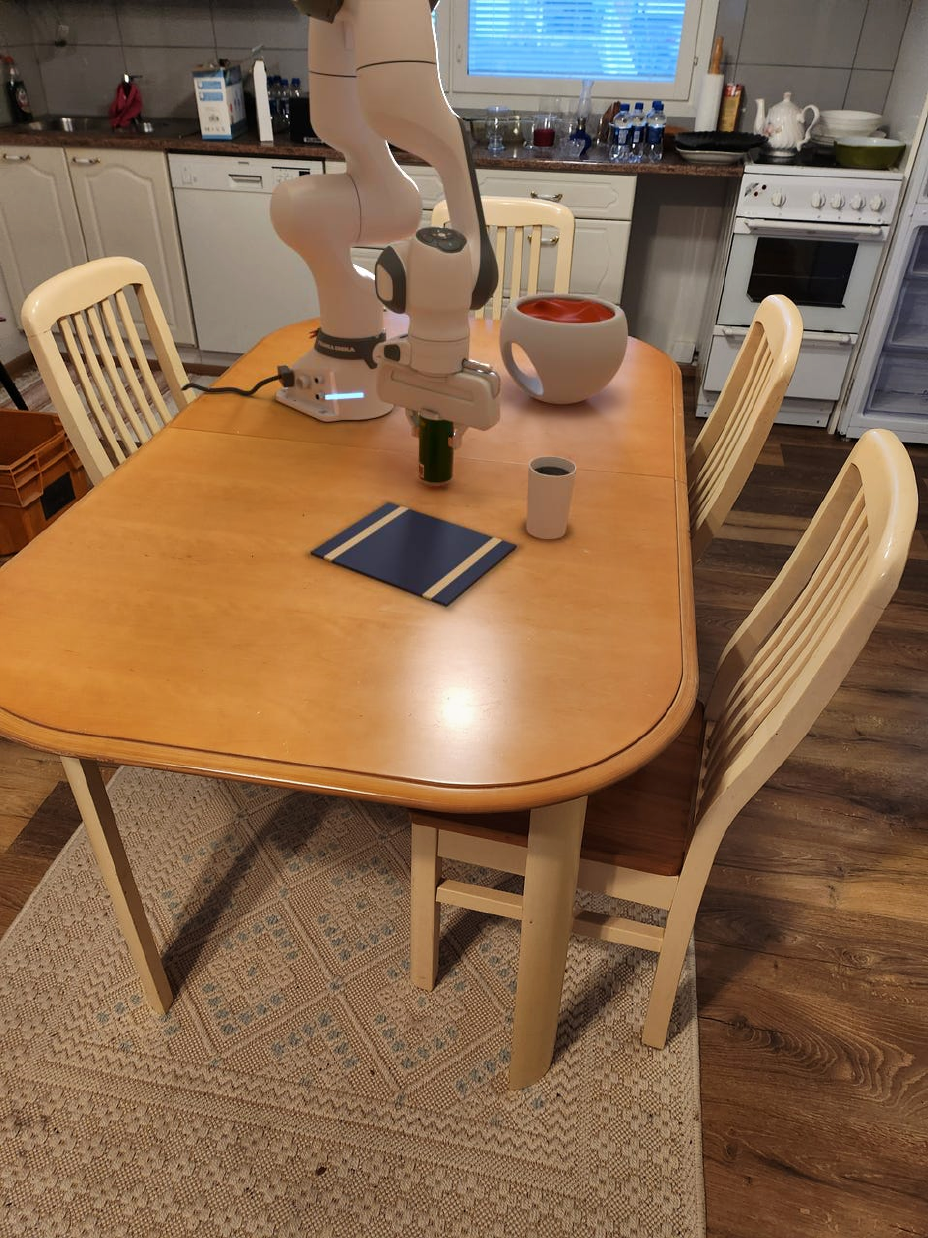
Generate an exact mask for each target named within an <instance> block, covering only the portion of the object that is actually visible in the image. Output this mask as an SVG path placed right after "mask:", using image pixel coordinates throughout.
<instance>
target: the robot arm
mask: <svg viewBox="0 0 928 1238" xmlns="http://www.w3.org/2000/svg"><path fill="white" fill-rule="evenodd" d="M440 1H441V0H290V2H291V3H292V4H293V5H294V7H295V8H296V9H297V11H299V13H301V14H302V15H304V16H307V17H309V23H308V24H309V25H308V26H309V27H308V40H307V66H308V67H307V68H308V70H307V71H308V72H307V73H308V74H307V75H308V95H309V118H310V119H309V121H310V124H311V127H312V130H313V132H314V133H315V135H316V136H317V137H318V138H319V140H321V141H322V142H323V143H324V144H326V145H328V146H329V147H331V148H332V149H334V150H336V151H338V152H340V153H342V154H343V157H344V159H345V165H346V172H343V173H319V174H318V173H316V174H304V175H300V176H296V177H292V178H289V179H286V180H282V181H280V182H279V183H277V185H276V186H275V188H274V190H273V192H272V195H271V197H270V200H269V218H270V221H271V225H272V227H273V230H274V233H276V235H277V237H278V238H279V239H280V240H281V241H282V242H283V244H285V245H286V247H289V248H290V249H291V250H293V251H294V252H295V253H296V254H297V255H299V257H300V258H301V259H302V260H303V261H304V263H305V264H306V265H307V267H308V269H309V271H310V272H311V274H312V277H313V280H314V282H315V286H316V291H317V298H318V307H319V318H320V319H319V320H320V326H319V327H317V328H316V329H314V330H312V331H309V332H308V334H311V335H309V337H308V338H309V339H310V340H311V339H314V338H315V342H314V344H313V347H311V349H310V350H308V351H307V352H306V353H304V354H303V355H302V356H301V357H299V358H298V359H297V360H296V361H294V362H293V363H292V364H291V365H290V367H289V366H288V364H284V365H277V368H276V369H277V374H276V375H273V376H270V377H268V378H265V379H263V380H261V381H259V382H258V383H256V384H255V385H254V386H253V387H252V388H251V389H249V390H245V389H241V388H239V387H235V386H224V387H223V386H222V387H207V386H203V385H201V384H198V383H195V382H189V383H186V384H184V385H183V386H182V387H181V388H180V391H183V392H184V391H187V390H189V389H196V390H199V391H202V392H204V393H212V394H213V393H227V392H228V393H229V392H231V393H236V394H239V395H243V396H252V395H254V394H256V393H257V392H258V391H259V390H260V388H261V387H263V386H266V385H267V384H270V383H273V382H276V381H278V382H279V383H280V384H281V386H282V387H281V388H280V389H279V390H278V391H277V392H276V394H275V401H276V402H279V403H281V404H284V405H285V406H288V407H290V408H292V409H295V410H297V411H299V412H301V413H304V414H305V415H307V416H310V417H312V418H315V419H317V420H319V421H322V422H324V423H325V422H327V423H329V422H336V421H360V420H361V421H362V420H370V419H375V418H378V417H383V416H384V415H386V414H389V413H390V412H391V411H392V410H393V409H394V407H395V406H397V407H400V408H404V414H405V417H406V419H407V421H408V423H409V425H410V426H411V436H412V437H413V438H417V439H419V412H421V408H424V409H425V410H427V411H428V410H431V411H433V412H438V413H440V417H441V418H442V419H444V420H448V421H451V422H454V430H456V432H454V434H453V435H452V436H449V437H448V447H450V448H453V449H454V450H459V449H460V448H461V447H462V445H463V436H464V435H465V434H466V432H467V431H468V429H469V428H472V429H475V430H479V431H482V432H486V431H489V430H491V429H492V428H493V427H495V426H496V425H497V424H499V422H500V420H501V394H500V391H501V383H502V381H501V380H502V379H501V376H500V375H499V373H498V372H497V370H495V369H494V368H493V366H492V365H490V364H487V363H480V362H478V361H475V360H472V359H470V343H471V327H470V324H469V313H470V311H479V310H481V309H482V308H484V306H485V305H486V304H488V302H489V301H490V300H491V299H492V297H493V295H494V294H495V292H496V290H497V289H498V285H499V281H500V280H499V279H500V278H499V277H500V275H499V266H498V262H497V258H496V255H495V251H494V248H493V245H492V243H491V240H490V239H491V238H490V236H489V231H488V228H487V222H486V217H485V211H484V206H483V202H482V196H481V191H480V185H479V181H478V175H477V171H476V166H475V161H474V155H473V151H472V146H471V142H470V138H469V135H468V131H467V129H466V126H465V123H464V121H463V119H462V118H461V117H460V116H459V115H458V114H457V113H455V112H454V111H453V109H452V108H451V106H450V105H449V102H448V100H447V98H446V96H445V93H444V90H443V87H442V83H441V79H440V71H439V59H438V47H437V40H436V33H435V27H434V26H435V25H434V20H433V15H432V13H433V12H434V10H436V8H437V7H438V5H439V3H440ZM389 144H390V145H392V146H393V147H395V148H398V149H400V150H402V151H405V152H408V153H410V154H412V155H414V156H417V157H419V158H420V159H422V160H424V161H425V162H427V163H428V164H429V165H431V167H432V168H433V169H434V170H435V171H436V172H437V175H438V177H439V178H440V180H441V183H442V188H443V192H444V197H445V202H446V207H447V212H448V216H449V222H450V226H451V228H449V227H445V226H434V225H433V226H427V227H422V228H420V229H419V227H420V225H421V222H422V220H423V213H424V207H423V206H424V205H423V204H424V203H423V199H422V196H421V192H420V190H419V188H418V187H417V184H416V183H415V182H414V181H413V180H412V178H411V177H409V176H408V175H407V174H406V173H405V172H404V171H403V170H402V169H401V167H400V166H399V165H398V163H397V162H396V160H395V159H394V157H393V155H392V153H391V149H390V148H389ZM408 238H409V240H407V241H404V242H401V241H403V240H406V239H408ZM410 238H411V239H410ZM396 242H399V243H396ZM393 243H395V244H393ZM391 244H392V245H391ZM379 245H387V246H386V247H385V248H384V249H383V250H382V252H381V253H380V254H379V256H378V258H377V260H376V262H375V264H374V274H373V273H372V272H370V271H368V270H367V269H365V268H363V267H361V266H358V265H356V264H354V262H353V260H352V256H351V248H354V247H365V246H366V247H367V246H379ZM384 306H385V308H387V309H388V310H389V311H390V312H393V313H394V314H398V315H406V316H408V318H409V325H408V328H407V332H406V333H402V334H399V335H396V336H393V337H391V338H389V339H387V329H386V328H385V327H384V325H385V324H384V322H385V321H384ZM208 388H209V389H208Z"/></svg>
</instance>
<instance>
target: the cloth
mask: <svg viewBox="0 0 928 1238" xmlns="http://www.w3.org/2000/svg"><path fill="white" fill-rule="evenodd" d="M517 546H518V545H517V544H515V543H512V542H509V541H506V540H504V539H501V538H498V537H495V536H491V535H488V534H486V533H482V532H480V531H476V530H473V529H470V528H467V527H464V526H461V525H459V524H456V523H452V522H450V521H447V520H444V519H440V518H437V517H434V516H433V515H429V514H427V513H422V512H421V511H417V510H414V509H411V508H409V507H406V506H402V505H398V504H396V503H393V502H390V501H388V502H386V503H385V504H383V505H382V506H380V507H379V508H377V509H375V510H374V511H372V512H371V513H369V514H368V515H366V516H364V517H363V518H361V519H360V520H358V521H357V522H355V523H353V524H352V525H350V526H348V527H347V528H346V529H343V530H342V531H340V532H339V533H338V534H336V535H335V536H333V537H331V538H329V539H328V540H327V541H325V542H324V543H322V544H320V545H319V546H318V547H316V548H314V549H313V550H310V555H311V556H314V557H317V558H320V559H322V560H325V561H327V562H330V563H332V564H335V565H336V566H337V565H338V566H340V567H343V568H345V569H348V570H350V571H353V572H355V573H358V574H361V575H363V576H366V577H369V578H372V579H374V580H377V581H379V582H381V583H384V584H387V585H389V586H392V587H395V588H397V589H400V590H402V591H405V592H407V593H410V594H413V595H416V596H417V597H420V598H423V599H426V600H429V601H431V602H433V603H437V604H438V605H441V606H444V607H445V608H446V607H448V606H450V605H451V604H452V603H453V602H454V601H455V600H457V599H458V598H459V597H460V596H461V595H462V594H463V593H465V592H466V591H467V590H468V589H469V588H470V587H472V586H473V585H474V584H475V583H476V582H478V581H479V580H480V579H481V578H483V576H484V575H486V574H488V572H489V571H490V570H491V569H493V568H494V567H495V566H496V565H498V564H499V563H500V562H501V561H502V560H504V559H505V557H507V556H509V554H511V553H512V552H513V551H514V550H515V549H517Z"/></svg>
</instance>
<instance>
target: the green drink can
mask: <svg viewBox="0 0 928 1238" xmlns="http://www.w3.org/2000/svg"><path fill="white" fill-rule="evenodd" d="M418 415H419V438H418V470H417V471H418V478H419V480H420V482H421V483H422V484H424V485H427V486H430V487H442V486H446V485H447V484H449V483H450V482H451V480H452V478H453V476H454V451H455V449H453V448H450V447H448V437H449V436H452V435H453V434H454V433H455V428H454V422H451V421H448V420H444V419H442V418H441V417H440V413H438V412H433V411H431V410H428V411H427V410H425V409H424V408H421V412H419V413H418Z"/></svg>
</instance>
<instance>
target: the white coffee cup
mask: <svg viewBox="0 0 928 1238" xmlns="http://www.w3.org/2000/svg"><path fill="white" fill-rule="evenodd" d="M527 473H528V475H527V476H528V477H527V501H526V504H527V505H526V524H525V525H526V526H525V527H526V529H525V531H526V532H527V533H528V534H529V535H531V536H532V537H534V538H538V539H542V540H554V539H555V540H557V539H559V538H562V537H563V536H564V535H565V534H566V533H567V527H568V520H569V516H570V508H571V502H572V499H573V498H572V497H573V496H572V495H573V492H574V486H575V480H576V473H577V465H576V464H575V463H574V461H571V460H570V459H567V458H566V457H565V458H564V457H561V456H554V455H543V456H537V457H535V458H532V459H531V460H530V461H529V462H528V472H527Z"/></svg>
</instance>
